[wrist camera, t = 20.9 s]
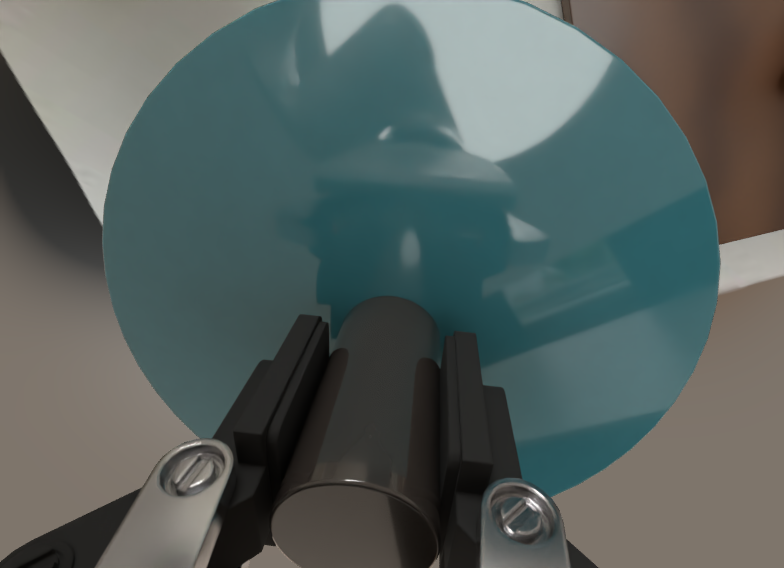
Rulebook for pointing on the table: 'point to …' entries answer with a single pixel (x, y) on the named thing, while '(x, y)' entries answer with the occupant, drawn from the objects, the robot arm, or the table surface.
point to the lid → (411, 248)
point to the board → (711, 91)
